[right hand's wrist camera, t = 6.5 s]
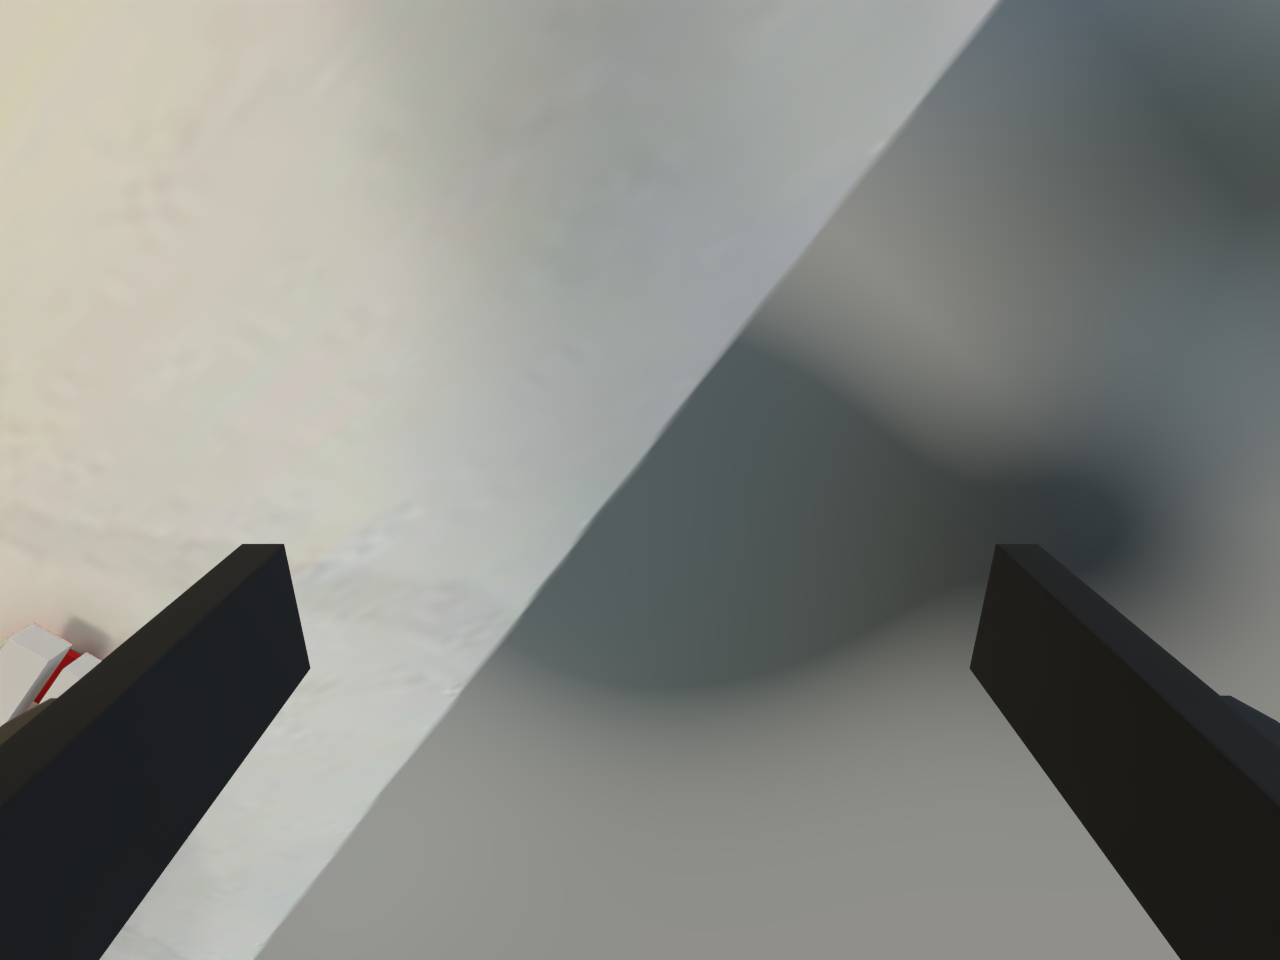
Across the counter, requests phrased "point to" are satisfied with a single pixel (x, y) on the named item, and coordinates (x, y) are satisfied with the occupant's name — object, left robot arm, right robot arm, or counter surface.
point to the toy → (37, 670)
